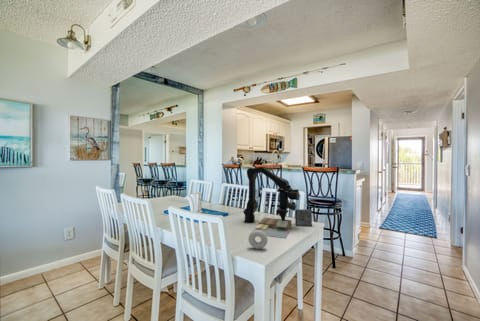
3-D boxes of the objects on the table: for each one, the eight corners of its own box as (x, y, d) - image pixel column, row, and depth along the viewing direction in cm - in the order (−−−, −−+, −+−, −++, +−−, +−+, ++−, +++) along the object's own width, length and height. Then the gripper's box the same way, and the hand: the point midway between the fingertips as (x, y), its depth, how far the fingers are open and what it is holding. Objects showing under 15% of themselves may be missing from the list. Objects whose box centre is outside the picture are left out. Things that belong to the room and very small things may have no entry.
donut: (248, 249, 119) (248, 230, 119) (249, 246, 123) (249, 228, 123) (267, 250, 118) (267, 231, 118) (267, 248, 121) (267, 229, 121)
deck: (258, 227, 157) (258, 222, 156) (264, 221, 170) (264, 217, 170) (288, 230, 149) (288, 225, 149) (291, 224, 162) (291, 220, 162)
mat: (250, 233, 143) (250, 233, 143) (256, 227, 156) (256, 226, 156) (285, 238, 135) (285, 237, 135) (289, 231, 148) (289, 230, 148)
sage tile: (276, 226, 148) (276, 223, 148) (279, 222, 156) (279, 220, 156) (285, 227, 146) (285, 224, 146) (288, 223, 154) (288, 221, 153)
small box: (310, 223, 164) (310, 209, 164) (312, 226, 158) (312, 211, 157) (295, 223, 165) (295, 208, 165) (296, 226, 159) (296, 211, 158)
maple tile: (256, 230, 149) (256, 227, 149) (260, 226, 156) (259, 224, 156) (265, 231, 146) (265, 228, 146) (268, 227, 154) (268, 225, 154)
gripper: (293, 202, 143) (293, 226, 144) (297, 196, 161) (297, 219, 161) (276, 200, 147) (276, 225, 148) (281, 196, 165) (281, 217, 165)
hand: (283, 221), depth 155 cm, fingers closed
